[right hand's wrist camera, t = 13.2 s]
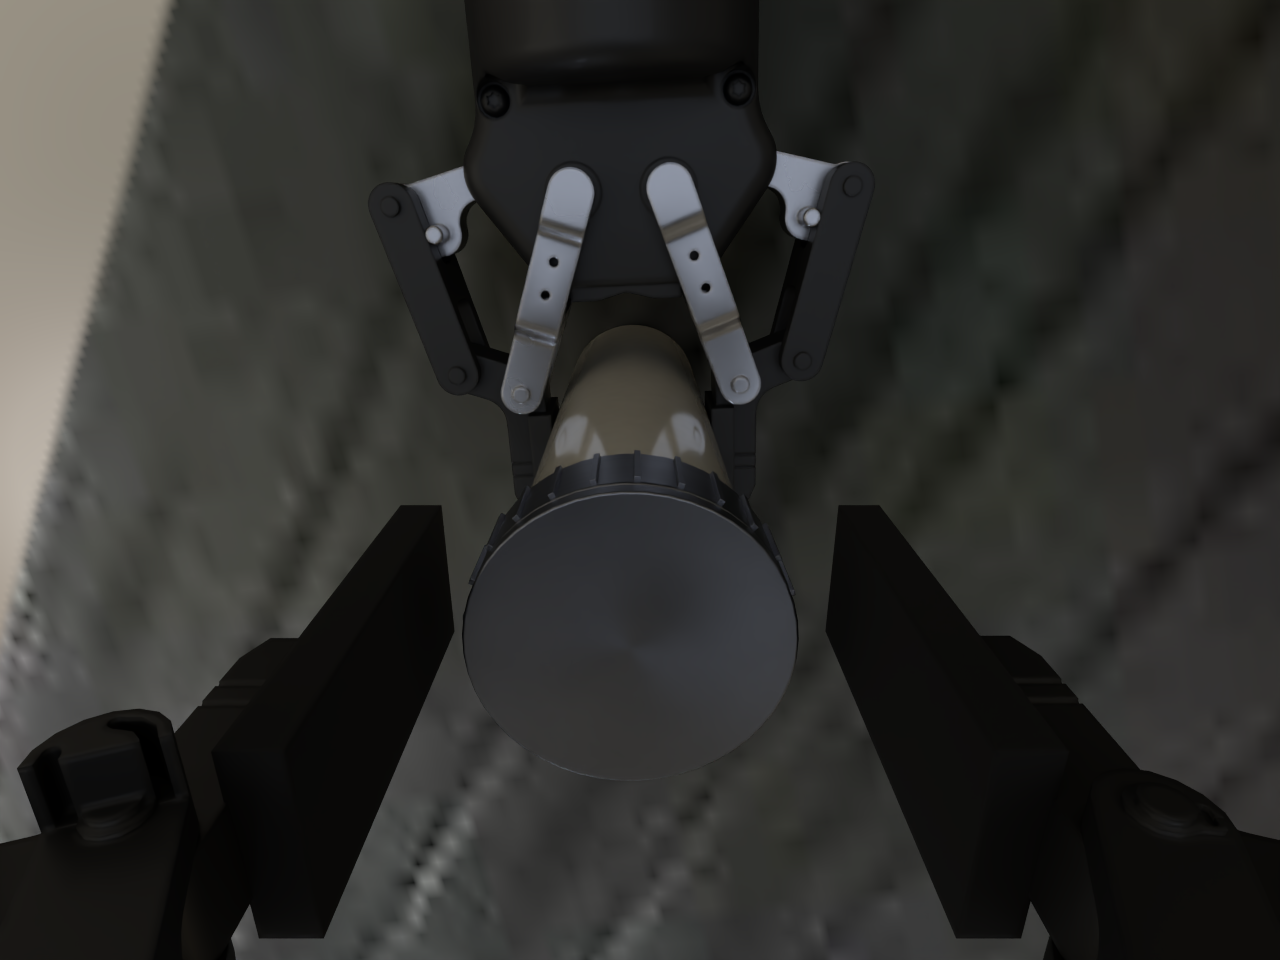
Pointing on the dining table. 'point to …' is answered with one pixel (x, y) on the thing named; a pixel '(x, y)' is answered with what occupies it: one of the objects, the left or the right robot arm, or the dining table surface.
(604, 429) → the jar
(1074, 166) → the dining table surface
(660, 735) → the lid
